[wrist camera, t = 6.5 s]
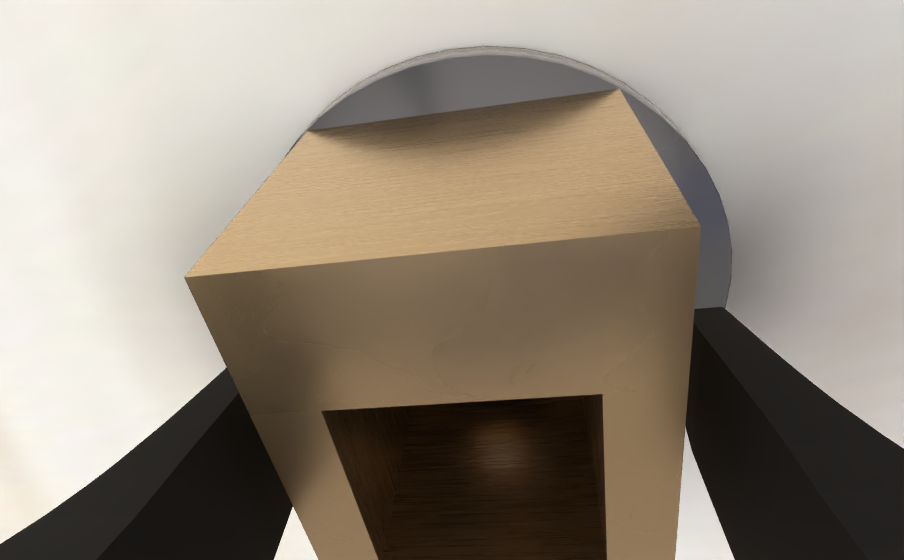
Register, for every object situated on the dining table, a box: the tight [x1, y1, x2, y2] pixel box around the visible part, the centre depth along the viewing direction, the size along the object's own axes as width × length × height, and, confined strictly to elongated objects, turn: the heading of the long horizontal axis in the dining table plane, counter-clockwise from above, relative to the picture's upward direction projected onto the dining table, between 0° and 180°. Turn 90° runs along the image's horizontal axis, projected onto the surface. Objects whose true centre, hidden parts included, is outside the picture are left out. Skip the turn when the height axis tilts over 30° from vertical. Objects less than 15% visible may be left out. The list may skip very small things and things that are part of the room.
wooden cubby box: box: [184, 89, 701, 560], centre depth 10 cm, size 6×8×5 cm
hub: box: [285, 46, 732, 309], centre depth 12 cm, size 10×10×3 cm
